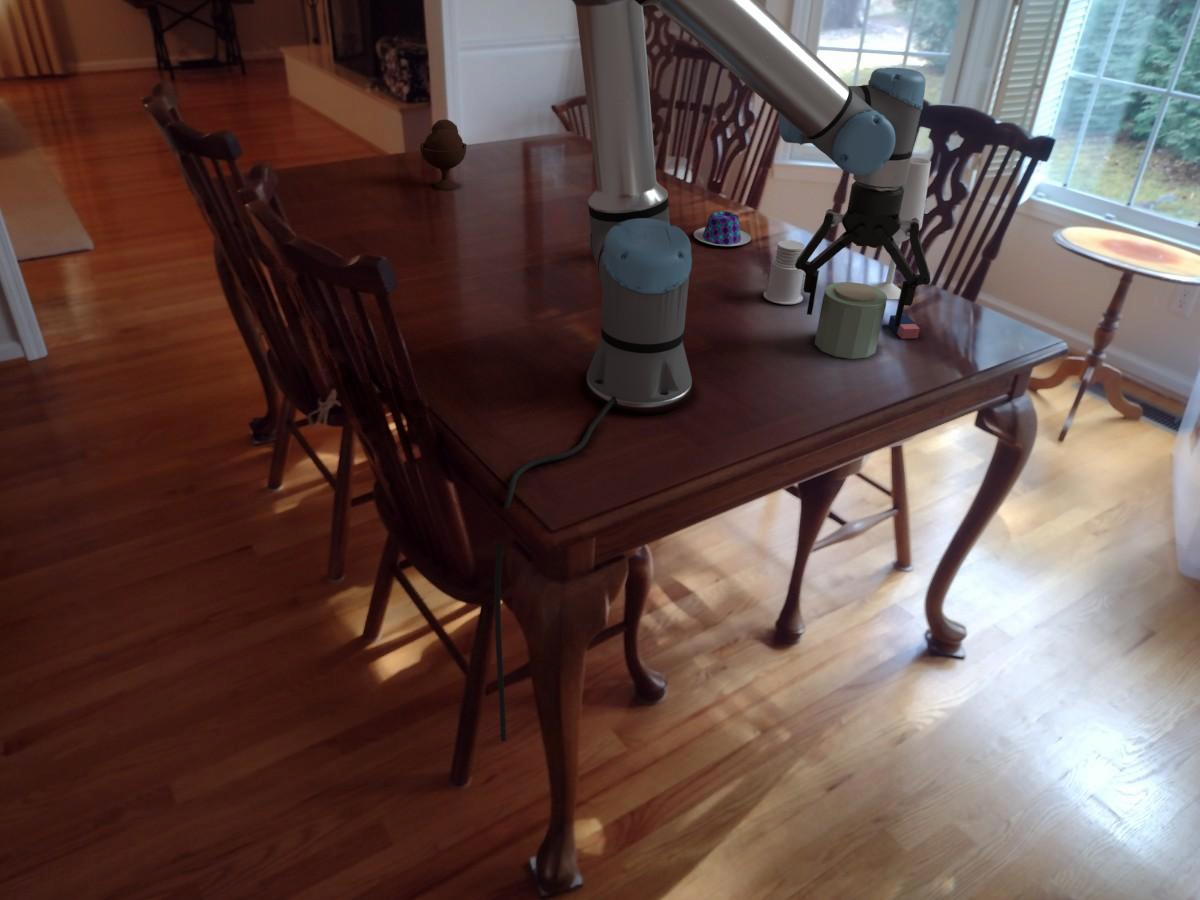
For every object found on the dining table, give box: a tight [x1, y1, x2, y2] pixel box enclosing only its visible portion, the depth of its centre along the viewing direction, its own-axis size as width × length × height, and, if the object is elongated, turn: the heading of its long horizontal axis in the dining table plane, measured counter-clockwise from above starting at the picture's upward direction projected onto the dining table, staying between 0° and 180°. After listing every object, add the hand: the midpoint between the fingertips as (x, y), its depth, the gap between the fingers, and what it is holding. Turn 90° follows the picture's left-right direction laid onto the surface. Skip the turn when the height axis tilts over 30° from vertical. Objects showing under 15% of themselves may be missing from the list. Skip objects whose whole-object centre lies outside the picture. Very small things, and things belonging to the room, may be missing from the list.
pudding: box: [693, 210, 752, 247], centre depth 181 cm, size 12×12×5 cm
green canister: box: [814, 281, 888, 360], centre depth 139 cm, size 10×10×10 cm
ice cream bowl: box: [419, 119, 468, 191], centre depth 204 cm, size 11×11×15 cm
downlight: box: [763, 239, 806, 305], centre depth 154 cm, size 8×7×10 cm
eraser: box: [888, 314, 921, 340], centre depth 146 cm, size 6×3×2 cm, turn 8°
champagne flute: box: [871, 156, 932, 300], centre depth 155 cm, size 7×7×24 cm
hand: (852, 317), depth 139 cm, fingers open, 13 cm apart
